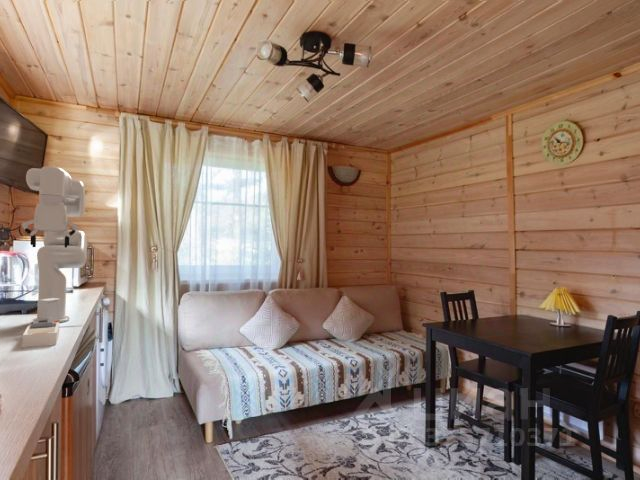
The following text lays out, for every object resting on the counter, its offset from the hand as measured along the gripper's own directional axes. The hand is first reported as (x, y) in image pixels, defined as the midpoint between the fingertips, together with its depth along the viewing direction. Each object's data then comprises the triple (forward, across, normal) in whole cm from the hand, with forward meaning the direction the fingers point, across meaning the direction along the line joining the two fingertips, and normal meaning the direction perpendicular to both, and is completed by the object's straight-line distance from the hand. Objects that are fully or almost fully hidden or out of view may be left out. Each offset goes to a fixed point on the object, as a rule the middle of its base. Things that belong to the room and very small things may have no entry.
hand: (50, 247), depth 145 cm
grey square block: (+30, +1, +6) cm, 31 cm away
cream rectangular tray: (+32, +1, +11) cm, 33 cm away
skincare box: (+32, 0, -4) cm, 32 cm away
